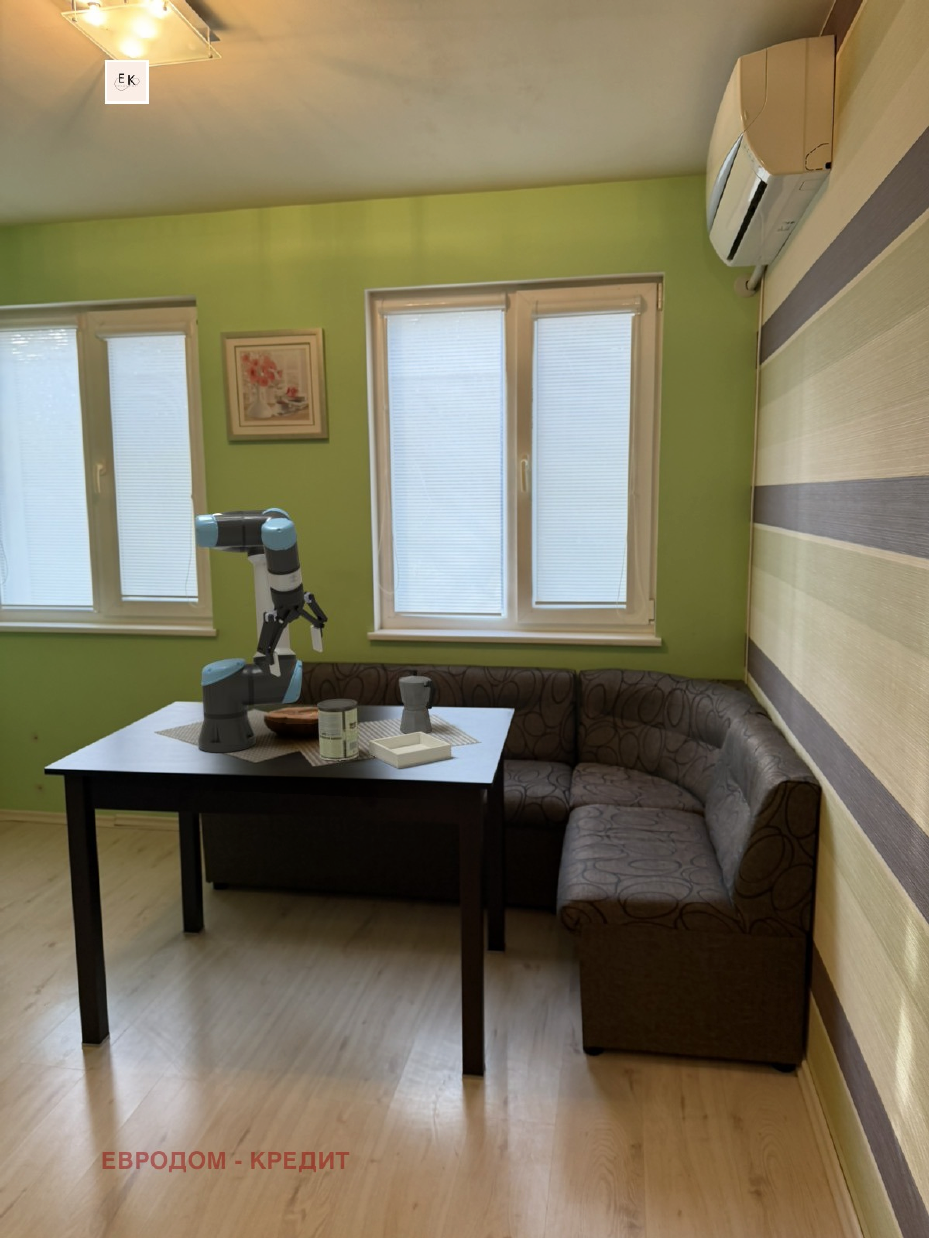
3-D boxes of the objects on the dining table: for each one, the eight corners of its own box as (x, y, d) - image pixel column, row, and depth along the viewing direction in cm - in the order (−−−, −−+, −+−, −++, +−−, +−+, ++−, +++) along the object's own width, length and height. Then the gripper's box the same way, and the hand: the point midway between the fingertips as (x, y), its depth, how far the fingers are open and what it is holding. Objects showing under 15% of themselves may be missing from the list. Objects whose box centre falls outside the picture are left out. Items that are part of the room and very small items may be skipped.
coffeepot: (388, 729, 247) (387, 668, 245) (413, 723, 253) (412, 664, 251) (423, 739, 236) (422, 676, 234) (448, 733, 242) (447, 671, 240)
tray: (369, 753, 223) (369, 740, 222) (420, 744, 231) (420, 731, 231) (397, 768, 210) (397, 754, 209) (451, 758, 218) (451, 744, 218)
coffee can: (324, 749, 227) (323, 698, 225) (362, 750, 226) (361, 698, 224) (314, 761, 217) (312, 707, 215) (354, 762, 216) (352, 707, 214)
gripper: (254, 610, 186) (267, 690, 197) (336, 569, 203) (344, 645, 214) (232, 600, 191) (246, 679, 201) (315, 561, 207) (324, 636, 218)
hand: (297, 662), depth 207 cm, fingers open, 13 cm apart
